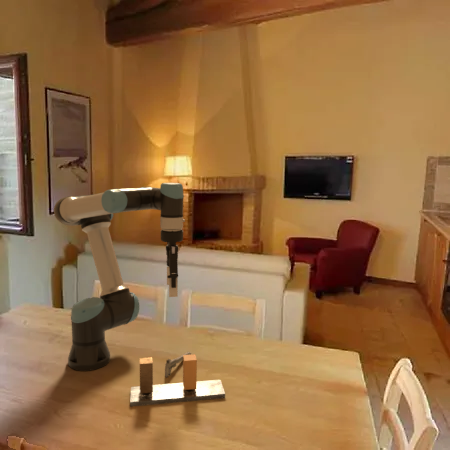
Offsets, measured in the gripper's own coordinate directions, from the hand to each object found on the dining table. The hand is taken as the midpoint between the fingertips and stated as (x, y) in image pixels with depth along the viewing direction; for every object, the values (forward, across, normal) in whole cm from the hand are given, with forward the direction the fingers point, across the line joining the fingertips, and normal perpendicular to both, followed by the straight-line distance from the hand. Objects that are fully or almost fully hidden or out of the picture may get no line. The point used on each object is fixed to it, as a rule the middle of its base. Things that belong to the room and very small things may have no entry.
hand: (171, 290), depth 145 cm
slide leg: (+30, -12, -5) cm, 32 cm away
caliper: (+32, +8, -3) cm, 33 cm away
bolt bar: (+32, -12, -1) cm, 34 cm away
